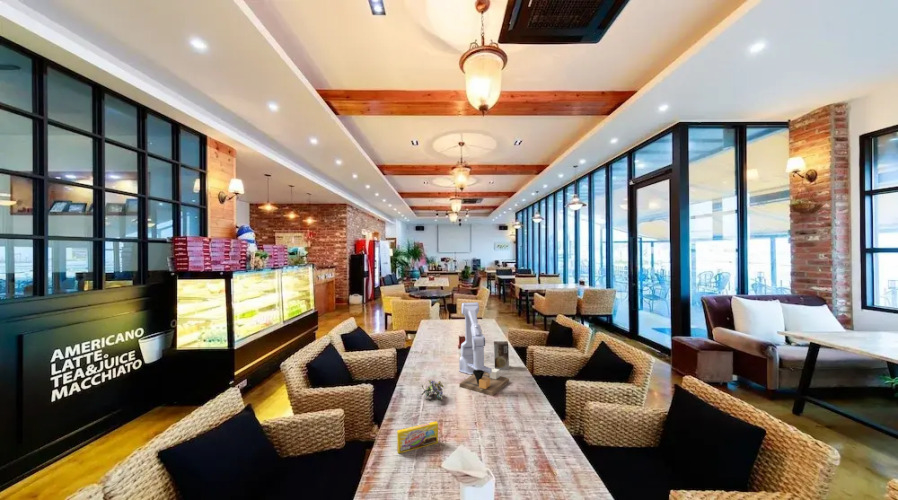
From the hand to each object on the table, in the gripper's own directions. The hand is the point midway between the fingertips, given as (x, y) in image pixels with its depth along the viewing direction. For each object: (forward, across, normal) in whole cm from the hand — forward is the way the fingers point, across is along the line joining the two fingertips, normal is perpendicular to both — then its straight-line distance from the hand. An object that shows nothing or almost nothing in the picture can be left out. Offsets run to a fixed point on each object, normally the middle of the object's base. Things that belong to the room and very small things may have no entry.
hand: (479, 383), depth 176 cm
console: (+3, -1, +8) cm, 8 cm away
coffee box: (+3, -4, +35) cm, 35 cm away
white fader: (+1, +2, +14) cm, 14 cm away
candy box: (+4, +5, -57) cm, 57 cm away
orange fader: (+1, +3, 0) cm, 4 cm away
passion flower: (+4, -15, -22) cm, 27 cm away
